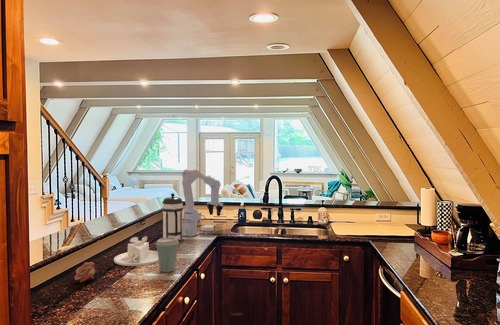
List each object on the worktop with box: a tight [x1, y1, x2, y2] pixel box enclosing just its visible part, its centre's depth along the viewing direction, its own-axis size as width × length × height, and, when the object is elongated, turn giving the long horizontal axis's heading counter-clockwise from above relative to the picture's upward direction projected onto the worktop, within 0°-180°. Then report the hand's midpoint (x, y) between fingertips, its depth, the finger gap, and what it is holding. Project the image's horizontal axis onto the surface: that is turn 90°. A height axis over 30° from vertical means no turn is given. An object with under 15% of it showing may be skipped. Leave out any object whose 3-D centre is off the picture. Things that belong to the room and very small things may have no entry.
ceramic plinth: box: [200, 224, 215, 232], centre depth 266 cm, size 8×8×3 cm
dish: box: [113, 235, 159, 267], centre depth 196 cm, size 25×25×11 cm
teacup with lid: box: [197, 210, 206, 227], centre depth 285 cm, size 12×9×12 cm
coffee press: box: [161, 193, 184, 243], centre depth 232 cm, size 17×16×30 cm
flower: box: [73, 261, 97, 283], centre depth 163 cm, size 10×9×8 cm
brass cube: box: [213, 224, 223, 235], centre depth 257 cm, size 5×5×5 cm
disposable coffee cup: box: [155, 237, 180, 273], centre depth 177 cm, size 11×11×15 cm
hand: (214, 215), depth 270 cm, fingers open, 7 cm apart
